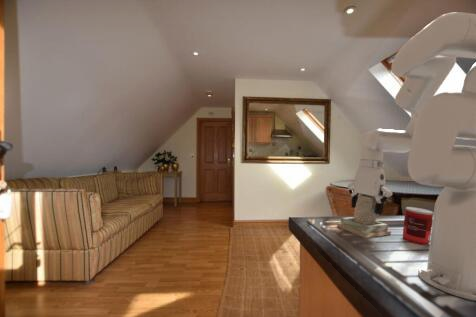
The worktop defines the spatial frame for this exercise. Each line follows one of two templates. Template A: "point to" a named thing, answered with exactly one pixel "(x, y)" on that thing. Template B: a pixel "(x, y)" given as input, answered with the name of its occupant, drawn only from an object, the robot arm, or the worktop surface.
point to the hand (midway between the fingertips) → (366, 210)
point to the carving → (365, 210)
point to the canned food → (417, 225)
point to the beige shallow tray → (364, 228)
